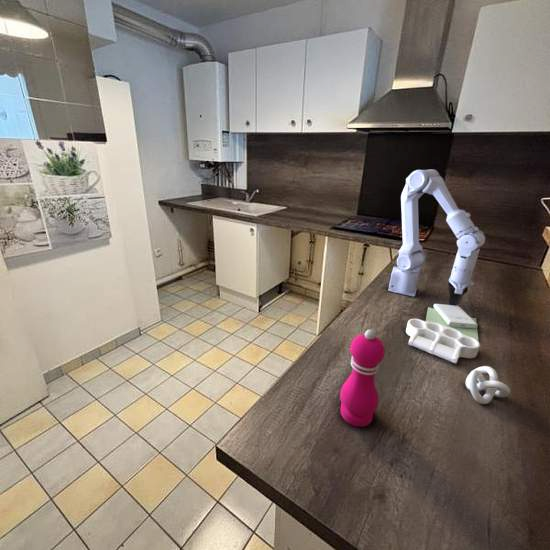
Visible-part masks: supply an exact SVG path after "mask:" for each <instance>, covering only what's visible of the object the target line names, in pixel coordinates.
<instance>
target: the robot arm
mask: <svg viewBox="0 0 550 550" xmlns="http://www.w3.org/2000/svg"><path fill="white" fill-rule="evenodd" d="M425 193H426V194H427V195H431V196H433V197H434V198H435V200H436V201H437V202H438V204H439V205H440V207H441V208H442V210H443V211H444V212H445V214H446V219H445V221H446V223H447V225H448V227H449V228H450V230H451V231H452V232H453V234H454V236H455V237H456V239H457V240H456V246H457V252H456V254H455V259H454V262H453V266H452V269H451V273H450V276H449V278H448V283H447V288H448V293H449V297H448V305H454V306H458V304H459V303H460V300H461V299H462V297H463V296H464V295H466V294H467V292H468V291H469V290H468V289H469V286H471V287H474V285H475V282H474V281H471V279H472V276H473V273H474V270H475V267H476V264H477V261H478V258H479V252H480V250H481V249H480V248H481V247H482V246H483V245H484V244H485V243H486V236H485V233H484V231H482V230H479V227H478V226H475V224H474V222H473V221H472V219H471V216H472V215H471V213H470V212H466V210H464V209H460V208H459V207H458V205H457V203H456V202H455V200H454V198H453V197H452V194H451V193H450V191H449V189H448V186H446V183H445V181H444V178H443V177H442V176H441V175H440V173H439V172H438V171H437V169H432V168H430V169H416V170H414V171H412V172H411V173H410V174H409V175H408V176H407V177H406V178H405V185H404V187H403V189H402V192H401V195H400V206H401V207H400V208H401V210H400V211H401V233H402V235H401V237H402V245H401V247H400V248H399V250H398V256H397V259H396V266H393V267H392V270H391V274H390V279H389V281H388V283H389V284H388V289H387V291H388V292H392V293H397V294H399V295H404V296H410V297H415V296H416V293H417V290H418V288H417V285H418V281H419V276H420V272H421V266H423V265H424V264H425V262H426V256H425V253H424V250H423V246H422V245H421V244H420V229H419V225H420V224H419V199H420V198H421V197H422V196H423V195H424V194H425Z"/></svg>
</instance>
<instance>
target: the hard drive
mask: <svg viewBox="0 0 550 550" xmlns="http://www.w3.org/2000/svg"><path fill="white" fill-rule="evenodd" d="M433 308H434V309H435V310H436V311H437V312H438V313H439V314H440V316H441V317H442V318H443V319H444V320H445V322H446V323H447V324H448V325H449V326H455V327H465V328H477V329H478V326H479V324H477V322H476V323H475V322H474V321H473V320H472V319H471V318H472V317H471V316H470V315H469V314H467V312H466V311H465V310H464V309H463V308H462V307H461V306H460V305H456V306H454V305H449V304H442V303H433ZM470 317H471V318H470Z"/></svg>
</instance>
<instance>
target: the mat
mask: <svg viewBox="0 0 550 550" xmlns="http://www.w3.org/2000/svg"><path fill="white" fill-rule="evenodd" d="M469 317H470V318H471V319H472V320H473V321H474V322H475V323H477V318H476V317H471V316H469ZM425 321H426V322H435V323H439V324H441V325H443V326H446V327H449V328H453V329H456V330H458V331H459V332H461V333H462V334H464V335H466V336H468V337H472V338H474V339H476V340H477V341H478V342H479V335H478V334H479V333H478V327H477V328H465V327H455V326H449V325H448V324H447V323H446V322H445V320H444V319H443V318H442V317H441V316H440V314H439V313H438V312H437V311H436V310H435V308H434V307H429V306H428V307H427V311H426V316H425Z"/></svg>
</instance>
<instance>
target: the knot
mask: <svg viewBox="0 0 550 550" xmlns="http://www.w3.org/2000/svg"><path fill="white" fill-rule="evenodd" d="M483 374H488V375H489V380H486V378H485V376H484V375H483ZM465 386H466V389H468V390H469V391H470V393H471V395H472V397H473V399H474V400H475V401H476V402H477V403H479V404H482V405H487V404H489V403H491V401H492V400H493V399H494V397H495V398H496V397H498V398H506V397H509V396H510V394H511V389H510V387H509V386H508V385H507V384H506V383H504V382H501V381H499V375H498V372H497V371H496V369H494V368H493V367H491V366H488V365H483V366H479V367H477V368H475V369H472V370H471V371H470V373H468V375H467V377H466V379H465ZM480 391H484V392H485V393H484V395H483V396H482V395H481V393H480Z"/></svg>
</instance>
